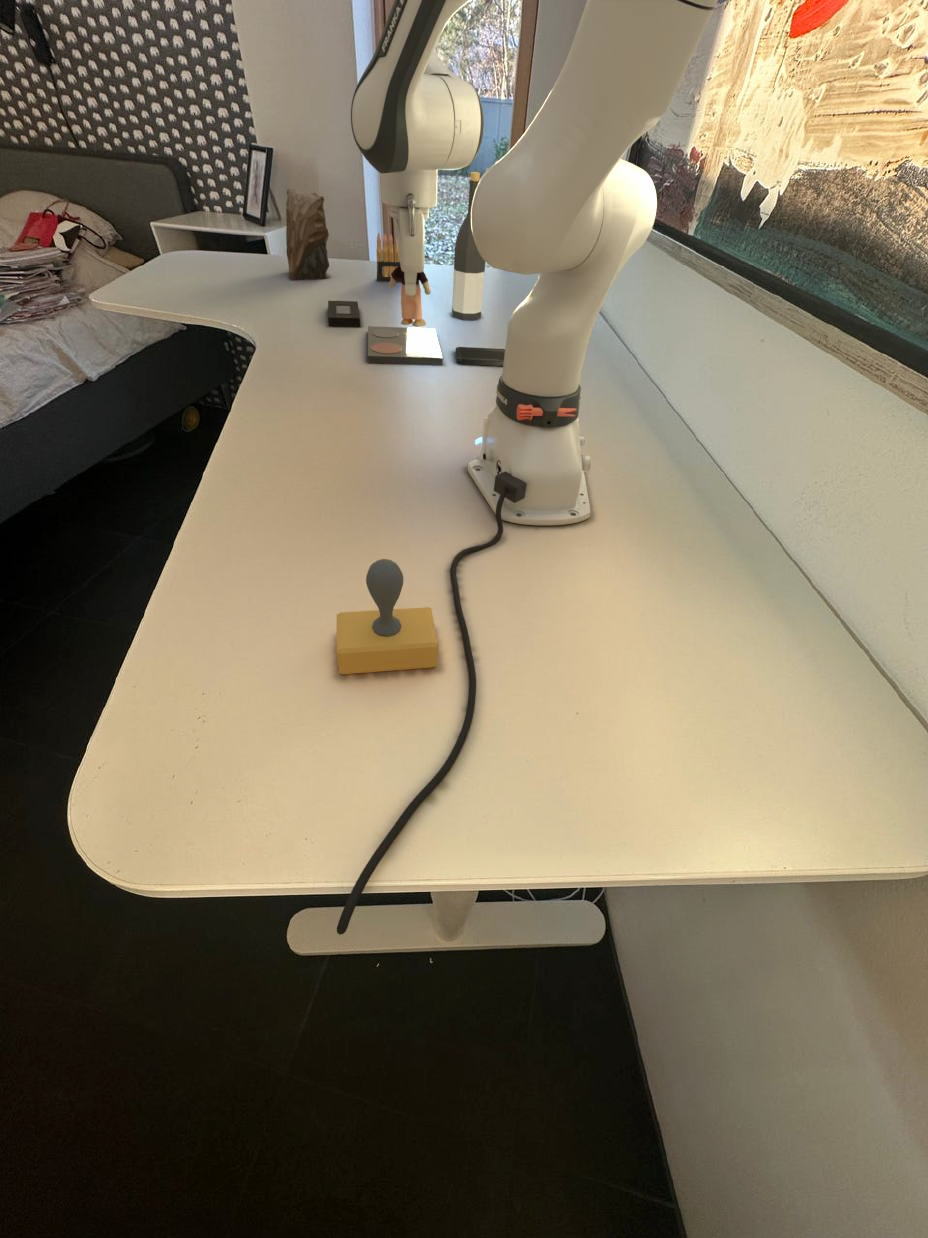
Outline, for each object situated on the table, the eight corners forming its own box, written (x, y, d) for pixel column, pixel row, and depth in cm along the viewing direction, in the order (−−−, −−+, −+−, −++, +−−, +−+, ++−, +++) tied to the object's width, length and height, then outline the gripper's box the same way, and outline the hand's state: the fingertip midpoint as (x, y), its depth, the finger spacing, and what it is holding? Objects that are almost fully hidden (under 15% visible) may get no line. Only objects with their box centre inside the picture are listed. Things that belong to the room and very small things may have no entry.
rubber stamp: (430, 629, 61) (433, 541, 52) (437, 669, 57) (441, 580, 48) (339, 635, 59) (328, 545, 51) (339, 676, 55) (327, 586, 47)
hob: (442, 365, 119) (442, 357, 118) (368, 363, 117) (367, 355, 116) (434, 335, 133) (434, 327, 132) (368, 332, 131) (367, 325, 130)
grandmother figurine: (433, 323, 99) (435, 239, 91) (428, 328, 97) (430, 242, 88) (392, 318, 100) (390, 234, 92) (386, 323, 97) (383, 237, 89)
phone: (455, 346, 125) (519, 349, 126) (455, 351, 126) (519, 354, 127) (457, 358, 119) (525, 361, 121) (457, 364, 120) (524, 367, 121)
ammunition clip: (377, 281, 166) (375, 233, 158) (376, 279, 167) (375, 232, 159) (412, 281, 168) (412, 235, 160) (411, 280, 169) (411, 233, 161)
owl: (289, 269, 169) (278, 187, 155) (330, 270, 171) (324, 189, 157) (289, 279, 160) (277, 194, 146) (333, 280, 163) (326, 196, 149)
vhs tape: (329, 326, 132) (328, 317, 131) (328, 309, 143) (328, 300, 141) (360, 327, 134) (359, 318, 132) (358, 309, 144) (357, 301, 142)
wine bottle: (447, 317, 144) (454, 171, 124) (455, 309, 150) (462, 169, 129) (477, 321, 143) (488, 175, 123) (484, 313, 149) (495, 172, 128)
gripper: (434, 200, 78) (432, 308, 88) (424, 184, 93) (423, 277, 102) (390, 197, 77) (393, 306, 87) (387, 181, 92) (389, 276, 102)
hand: (409, 291), depth 95 cm, fingers closed on grandmother figurine, 3 cm apart
